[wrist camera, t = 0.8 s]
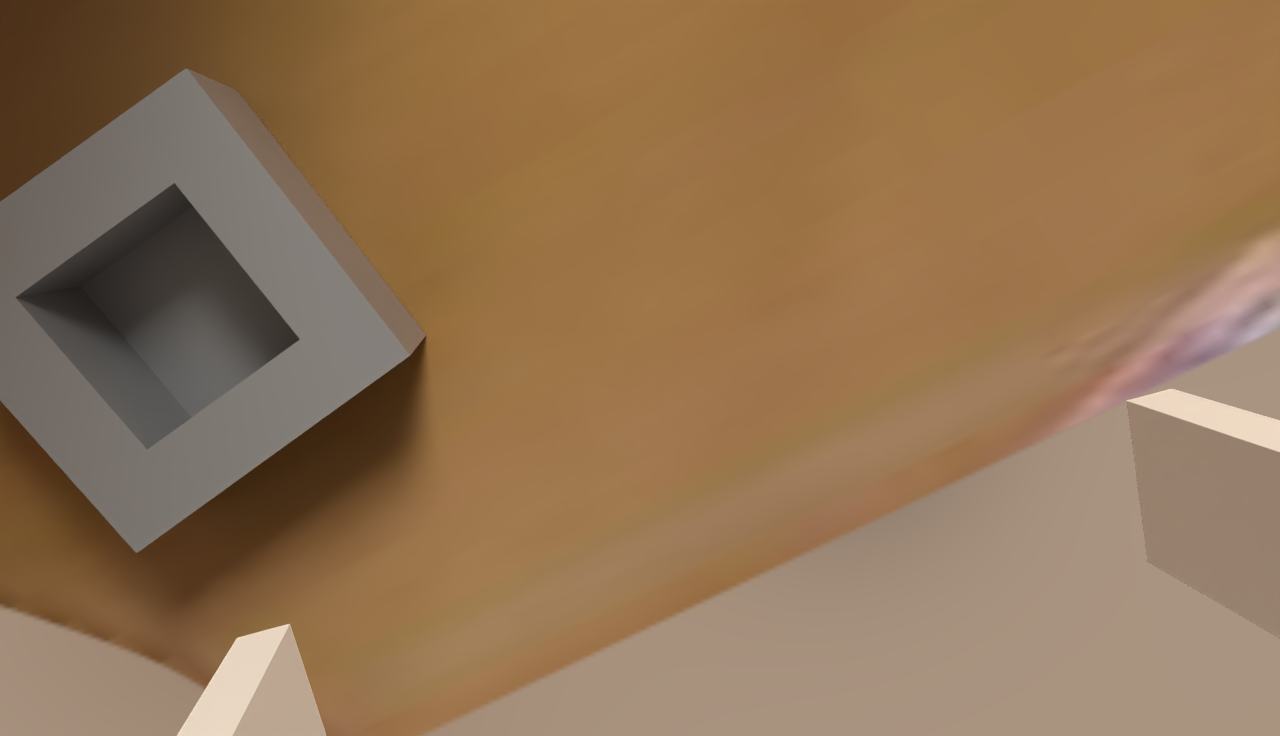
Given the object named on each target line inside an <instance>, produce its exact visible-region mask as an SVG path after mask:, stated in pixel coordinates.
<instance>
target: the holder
mask: <svg viewBox="0 0 1280 736" xmlns="http://www.w3.org/2000/svg"><path fill="white" fill-rule="evenodd" d="M425 336H426V334H425V333H424V332H423V330H422V329H421V328H420V327H419V325H418V324H417V323H416V321H415V320H414V319H413V317H412V316H411V315H410V314H409V312H408V311H407V310H406V308H405V307H404V306H403V304H402V303H401V302H400V301H399V299H398V298H397V297H396V295H395V294H394V293H393V291H392V290H391V289H390V288H389V286H388V285H387V284H386V282H385V281H384V280H383V278H382V277H381V276H380V275H379V273H378V272H377V271H376V269H375V268H374V267H373V266H372V264H371V263H370V262H369V260H368V259H367V258H366V256H365V255H364V254H363V253H362V251H361V250H360V249H359V247H358V246H357V245H356V243H355V242H354V241H353V240H352V238H351V237H350V236H349V234H348V233H347V232H346V230H345V229H344V228H343V227H342V225H341V224H340V223H339V221H338V220H337V219H336V217H335V216H334V215H333V214H332V212H331V211H330V210H329V208H328V207H327V206H326V204H325V203H324V202H323V201H322V199H321V198H320V197H319V195H318V194H317V193H316V191H315V190H314V189H313V188H312V186H311V185H310V184H309V182H308V181H307V180H306V178H305V177H304V176H303V175H302V173H301V172H300V171H299V169H298V168H297V167H296V166H295V164H294V163H293V162H292V160H291V159H290V158H289V156H288V155H287V154H286V153H285V151H284V150H283V149H282V147H281V146H280V145H279V143H278V142H277V141H276V140H275V138H274V137H273V136H272V134H271V133H270V132H269V130H268V129H267V128H266V127H265V125H264V124H263V123H262V121H261V120H260V119H259V117H258V116H257V115H256V114H255V112H254V111H253V110H252V108H251V107H250V106H249V104H248V103H247V102H246V101H245V99H244V98H243V97H242V95H241V94H240V93H239V91H238V90H236V89H233V88H231V87H229V86H227V85H224V84H222V83H220V82H217V81H215V80H213V79H211V78H208V77H206V76H204V75H202V74H199V73H197V72H195V71H192V70H190V69H188V68H185V69H184V70H183V71H181V72H180V73H178V74H177V75H176V76H174V77H173V78H171V79H170V80H169V81H167V82H166V83H164V84H163V85H162V86H160V87H159V88H158V89H156V90H155V91H153V92H152V93H151V94H149V95H148V96H146V97H145V98H144V99H142V100H141V101H139V102H138V103H137V104H135V105H134V106H132V107H131V108H130V109H128V110H127V111H126V112H124V113H123V114H121V115H120V116H119V117H117V118H116V119H114V120H113V121H112V122H110V123H109V124H107V125H106V126H105V127H103V128H102V129H100V130H99V131H98V132H96V133H95V134H94V135H92V136H91V137H89V138H88V139H87V140H85V141H84V142H82V143H81V144H80V145H78V146H77V147H75V148H74V149H73V150H71V151H70V152H69V153H67V154H66V155H64V156H63V157H62V158H60V159H59V160H57V161H56V162H55V163H53V164H52V165H50V166H49V167H48V168H46V169H45V170H43V171H42V172H41V173H39V174H38V175H37V176H35V177H34V178H32V179H31V180H30V181H28V182H27V183H25V184H24V185H23V186H21V187H20V188H18V189H17V190H16V191H14V192H13V193H11V194H10V195H9V196H7V197H6V198H5V199H3V200H2V201H0V401H1V402H2V403H3V404H4V405H5V407H6V408H7V409H8V410H9V411H10V412H11V413H12V414H13V416H14V417H15V418H16V419H17V420H18V421H19V422H20V423H21V424H22V426H23V427H24V428H25V429H26V430H27V431H28V432H29V433H30V435H31V436H32V437H33V438H34V439H35V440H36V441H37V442H38V444H39V445H40V446H41V447H42V448H43V449H44V450H45V451H46V453H47V454H48V455H49V456H50V457H51V458H52V459H53V460H54V462H55V463H56V464H57V465H58V466H59V467H60V468H61V469H62V471H63V472H64V473H65V474H66V475H67V476H68V477H69V478H70V479H71V481H72V482H73V483H74V484H75V485H76V486H77V487H78V488H79V490H80V491H81V492H82V493H83V494H84V495H85V496H86V497H87V499H88V500H89V501H90V502H91V503H92V504H93V505H94V506H95V508H96V509H97V510H98V511H99V512H100V513H101V514H102V515H103V517H104V518H105V519H106V520H107V521H108V522H109V523H110V524H111V526H112V527H113V528H114V529H115V530H116V531H117V532H118V533H119V534H120V536H121V537H122V538H123V539H124V540H125V541H126V542H127V543H128V545H129V546H130V547H131V548H132V549H133V550H134V551H135V552H136V553H138V552H139V551H141V550H142V549H143V548H145V547H146V546H147V545H149V544H150V543H152V542H153V541H154V540H156V539H157V538H159V537H160V536H161V535H163V534H164V533H165V532H167V531H168V530H170V529H171V528H172V527H174V526H175V525H177V524H178V523H179V522H181V521H182V520H183V519H185V518H186V517H188V516H189V515H190V514H192V513H193V512H195V511H196V510H197V509H199V508H200V507H201V506H203V505H204V504H206V503H207V502H208V501H210V500H211V499H213V498H214V497H215V496H217V495H218V494H219V493H221V492H222V491H224V490H225V489H226V488H228V487H229V486H230V485H232V484H233V483H235V482H236V481H237V480H239V479H240V478H242V477H243V476H244V475H246V474H247V473H248V472H250V471H251V470H253V469H254V468H255V467H257V466H258V465H260V464H261V463H262V462H264V461H265V460H266V459H268V458H269V457H271V456H272V455H273V454H275V453H276V452H278V451H279V450H280V449H282V448H283V447H284V446H286V445H287V444H289V443H290V442H291V441H293V440H294V439H295V438H297V437H298V436H300V435H301V434H302V433H304V432H305V431H307V430H308V429H309V428H311V427H312V426H313V425H315V424H316V423H318V422H319V421H320V420H322V419H323V418H325V417H326V416H327V415H329V414H330V413H331V412H333V411H334V410H336V409H337V408H338V407H340V406H341V405H343V404H344V403H345V402H347V401H348V400H349V399H351V398H352V397H354V396H355V395H356V394H358V393H359V392H360V391H362V390H363V389H365V388H366V387H367V386H369V385H370V384H372V383H373V382H374V381H376V380H377V379H378V378H380V377H381V376H383V375H384V374H385V373H387V372H388V371H390V370H391V369H392V368H394V367H395V366H396V365H398V364H399V363H401V362H402V361H403V360H405V359H406V358H408V357H409V356H410V355H411V354H412V353H413V351H414V350H415V349H416V348H417V346H418V345H419V344H420V342H421V341H422V340H423V339H424V337H425Z"/></svg>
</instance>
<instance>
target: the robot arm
mask: <svg viewBox="0 0 1280 736" xmlns="http://www.w3.org/2000/svg"><path fill="white" fill-rule="evenodd" d="M1127 408H1128V415H1129V423H1130V431H1131V439H1132V446H1133V454H1134V461H1135V469H1136V477H1137V484H1138V492H1139V500H1140V508H1141V516H1142V523H1143V531H1144V539H1145V547H1146V553H1147V562H1149V563H1150V564H1152V565H1154V566H1155V567H1157V568H1159V569H1161V570H1162V571H1164V572H1166V573H1168V574H1169V575H1171V576H1173V577H1174V578H1176V579H1178V580H1180V581H1181V582H1183V583H1185V584H1187V585H1188V586H1190V587H1192V588H1194V589H1195V590H1197V591H1199V592H1200V593H1202V594H1204V595H1206V596H1207V597H1209V598H1211V599H1213V600H1214V601H1216V602H1218V603H1219V604H1221V605H1223V606H1225V607H1226V608H1228V609H1230V610H1231V611H1233V612H1235V613H1237V614H1238V615H1240V616H1242V617H1244V618H1245V619H1247V620H1249V621H1250V622H1252V623H1254V624H1256V625H1258V626H1259V627H1261V628H1263V629H1264V630H1266V631H1268V632H1269V633H1271V634H1273V635H1275V636H1277V637H1278V638H1280V421H1279V420H1276V419H1273V418H1269V417H1266V416H1262V415H1259V414H1256V413H1252V412H1249V411H1245V410H1242V409H1239V408H1235V407H1232V406H1228V405H1225V404H1222V403H1218V402H1215V401H1211V400H1208V399H1205V398H1202V397H1198V396H1195V395H1191V394H1188V393H1184V392H1181V391H1178V390H1174V389H1169V390H1165V391H1161V392H1157V393H1154V394H1150V395H1146V396H1142V397H1139V398H1135V399H1131V400H1127ZM177 736H327V735H326V732H325V729H324V726H323V723H322V720H321V717H320V714H319V711H318V708H317V705H316V702H315V699H314V696H313V693H312V690H311V687H310V684H309V680H308V677H307V674H306V671H305V668H304V665H303V662H302V659H301V656H300V653H299V650H298V647H297V644H296V641H295V638H294V635H293V632H292V628H291V625H290V624H287V625H283V626H279V627H276V628H272V629H268V630H264V631H261V632H257V633H253V634H249V635H246V636H242V637H238V638H237V639H236V640H235V642H234V644H233V645H232V647H231V648H230V650H229V652H228V653H227V655H226V657H225V658H224V660H223V661H222V663H221V665H220V666H219V668H218V670H217V671H216V673H215V674H214V676H213V678H212V679H211V681H210V683H209V684H208V686H207V687H206V689H205V691H204V692H203V694H202V696H201V697H200V699H199V700H198V702H197V704H196V705H195V707H194V709H193V710H192V712H191V714H190V715H189V717H188V718H187V720H186V722H185V723H184V725H183V726H182V728H181V730H180V731H179V733H178V735H177Z"/></svg>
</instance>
